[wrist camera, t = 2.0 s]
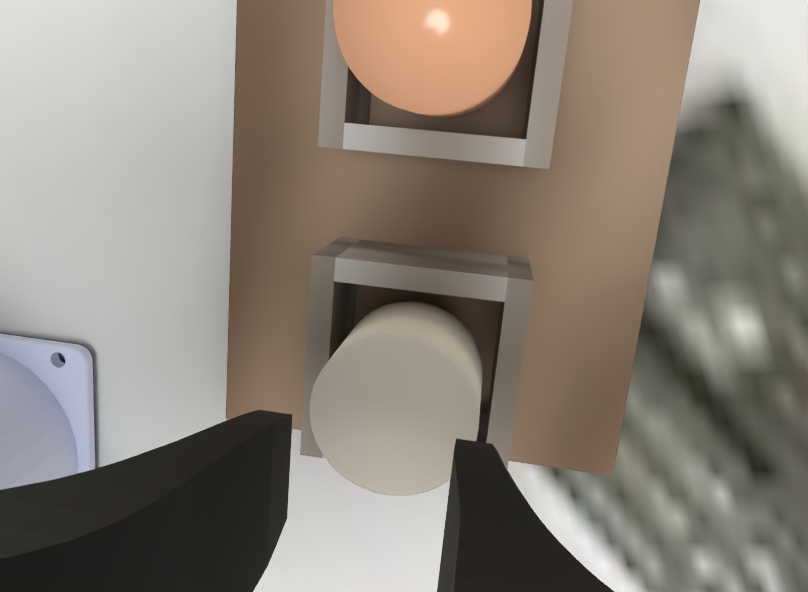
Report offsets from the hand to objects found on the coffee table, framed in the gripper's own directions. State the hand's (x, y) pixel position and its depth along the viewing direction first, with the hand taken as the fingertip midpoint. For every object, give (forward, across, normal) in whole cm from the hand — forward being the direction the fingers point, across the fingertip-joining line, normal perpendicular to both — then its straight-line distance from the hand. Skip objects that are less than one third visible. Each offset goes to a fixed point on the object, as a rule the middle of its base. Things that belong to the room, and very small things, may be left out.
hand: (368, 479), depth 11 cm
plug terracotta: (+6, 0, -8) cm, 10 cm away
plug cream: (+6, 0, 0) cm, 6 cm away
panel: (+9, 0, -4) cm, 10 cm away
